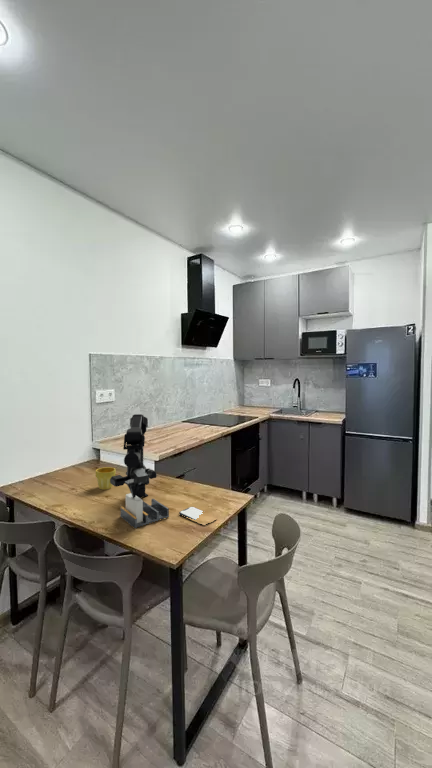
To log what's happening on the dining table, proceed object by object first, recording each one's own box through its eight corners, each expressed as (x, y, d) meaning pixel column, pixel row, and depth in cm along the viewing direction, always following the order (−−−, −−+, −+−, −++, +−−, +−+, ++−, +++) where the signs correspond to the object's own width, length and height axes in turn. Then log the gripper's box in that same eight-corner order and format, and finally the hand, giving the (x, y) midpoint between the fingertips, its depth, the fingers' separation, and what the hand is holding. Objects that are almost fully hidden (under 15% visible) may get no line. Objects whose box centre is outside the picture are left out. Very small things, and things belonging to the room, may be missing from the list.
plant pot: (118, 484, 178) (118, 467, 178) (110, 491, 168) (110, 473, 167) (100, 483, 179) (100, 466, 179) (91, 490, 169) (91, 472, 168)
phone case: (218, 520, 138) (192, 509, 148) (218, 517, 138) (192, 505, 148) (204, 528, 131) (177, 515, 141) (204, 524, 131) (177, 512, 141)
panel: (125, 514, 139) (125, 494, 138) (132, 512, 140) (132, 492, 140) (136, 523, 131) (136, 501, 131) (142, 521, 133) (142, 500, 132)
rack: (120, 516, 139) (120, 506, 139) (153, 506, 149) (153, 497, 149) (134, 528, 128) (134, 518, 128) (168, 517, 139) (169, 507, 139)
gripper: (120, 469, 123) (120, 509, 123) (163, 461, 135) (163, 497, 135) (109, 462, 131) (109, 500, 132) (150, 455, 143) (150, 490, 144)
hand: (134, 497), depth 135 cm, fingers closed, pressing on panel
